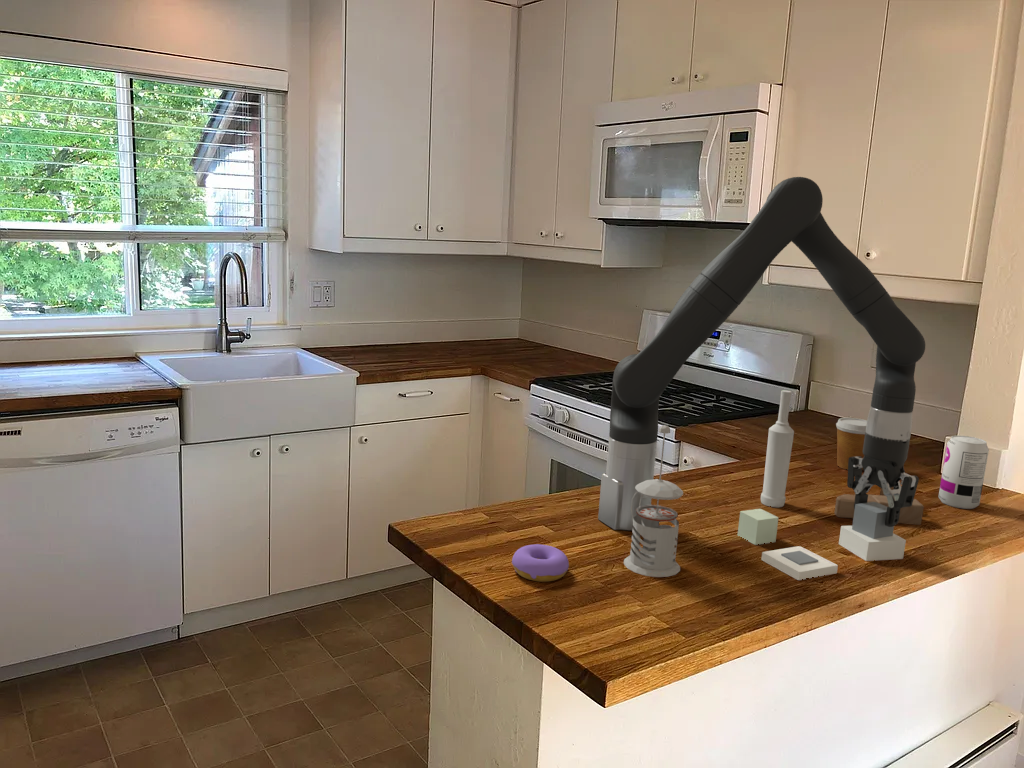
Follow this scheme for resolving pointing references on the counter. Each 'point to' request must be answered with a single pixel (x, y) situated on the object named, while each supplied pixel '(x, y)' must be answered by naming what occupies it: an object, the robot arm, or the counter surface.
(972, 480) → the supplement can
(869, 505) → the slate cube
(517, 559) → the donut
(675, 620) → the counter surface
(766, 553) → the plate
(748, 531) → the sage cube
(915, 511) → the wooden block set
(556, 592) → the counter surface
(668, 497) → the french press
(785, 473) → the bottle
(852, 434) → the disposable coffee cup
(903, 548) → the base block
